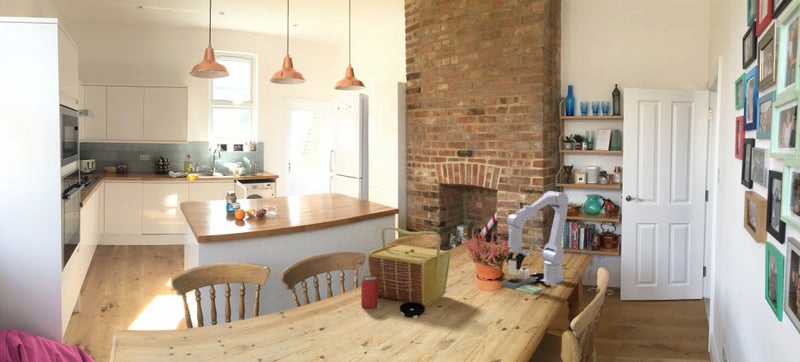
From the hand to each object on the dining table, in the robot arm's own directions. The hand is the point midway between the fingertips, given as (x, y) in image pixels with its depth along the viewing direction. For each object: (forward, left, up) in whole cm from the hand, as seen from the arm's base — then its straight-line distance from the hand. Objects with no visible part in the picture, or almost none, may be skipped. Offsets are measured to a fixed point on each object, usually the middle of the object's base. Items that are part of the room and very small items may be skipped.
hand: (514, 268), depth 244 cm
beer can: (+68, -26, -9) cm, 74 cm away
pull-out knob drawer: (-9, 0, -9) cm, 13 cm away
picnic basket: (+47, -23, -9) cm, 53 cm away
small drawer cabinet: (-5, 0, -9) cm, 10 cm away
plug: (0, 0, -2) cm, 2 cm away
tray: (+1, +9, -9) cm, 12 cm away
